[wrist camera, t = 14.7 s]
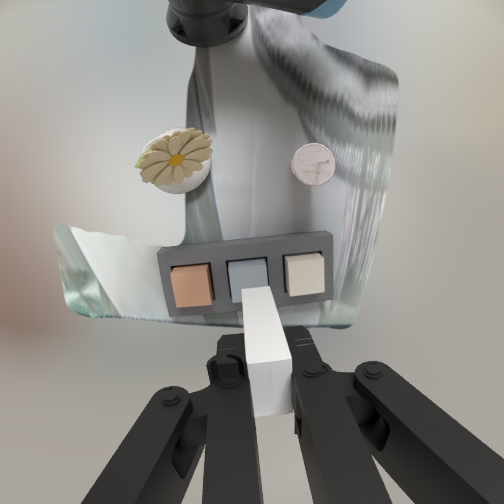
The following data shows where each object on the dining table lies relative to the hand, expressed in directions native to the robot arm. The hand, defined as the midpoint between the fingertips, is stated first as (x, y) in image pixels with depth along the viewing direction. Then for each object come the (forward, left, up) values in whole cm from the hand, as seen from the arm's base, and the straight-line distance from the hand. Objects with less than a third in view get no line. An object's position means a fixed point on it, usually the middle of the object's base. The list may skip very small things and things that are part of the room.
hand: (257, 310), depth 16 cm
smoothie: (-8, +11, -37) cm, 39 cm away
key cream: (+10, +10, -35) cm, 37 cm away
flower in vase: (-11, -9, -37) cm, 39 cm away
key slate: (+10, 0, -35) cm, 36 cm away
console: (+10, 0, -36) cm, 38 cm away
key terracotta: (+10, -10, -35) cm, 37 cm away
